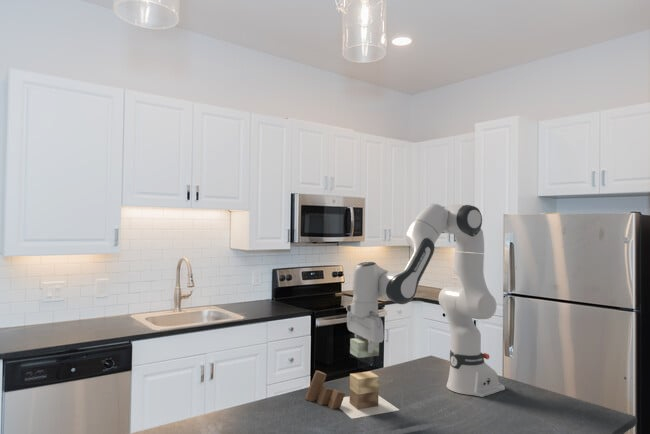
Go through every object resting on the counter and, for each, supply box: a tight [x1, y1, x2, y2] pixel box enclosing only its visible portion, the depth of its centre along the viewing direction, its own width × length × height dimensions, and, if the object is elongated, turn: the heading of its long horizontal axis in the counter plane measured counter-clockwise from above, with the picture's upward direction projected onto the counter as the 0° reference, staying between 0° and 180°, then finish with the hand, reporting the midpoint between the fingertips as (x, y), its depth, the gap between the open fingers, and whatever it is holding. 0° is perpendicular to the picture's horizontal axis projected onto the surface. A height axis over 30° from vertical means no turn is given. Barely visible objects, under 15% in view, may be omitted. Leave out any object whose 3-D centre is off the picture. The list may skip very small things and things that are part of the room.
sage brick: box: [349, 337, 380, 359], centre depth 154 cm, size 8×6×5 cm
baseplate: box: [339, 395, 400, 420], centre depth 154 cm, size 18×17×1 cm
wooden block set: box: [305, 370, 346, 410], centre depth 158 cm, size 18×9×10 cm, turn 30°
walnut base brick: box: [349, 388, 380, 410], centre depth 154 cm, size 8×6×5 cm
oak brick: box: [349, 370, 380, 394], centre depth 154 cm, size 8×6×5 cm
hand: (364, 349), depth 154 cm, fingers closed on sage brick, 6 cm apart
